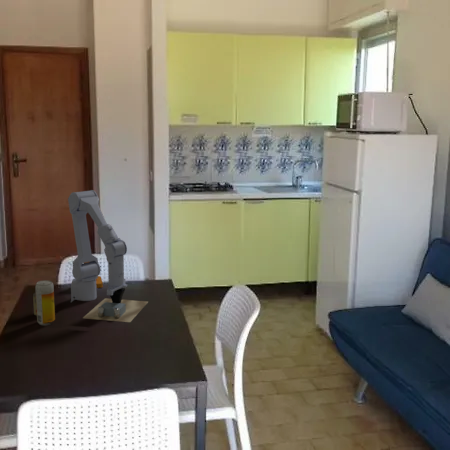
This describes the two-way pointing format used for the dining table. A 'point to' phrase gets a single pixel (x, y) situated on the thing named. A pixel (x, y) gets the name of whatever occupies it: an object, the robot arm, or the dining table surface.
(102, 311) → the bench dogs
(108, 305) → the bevelled grey block
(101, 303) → the board
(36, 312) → the lighter
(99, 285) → the bracket
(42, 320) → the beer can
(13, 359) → the dining table surface
